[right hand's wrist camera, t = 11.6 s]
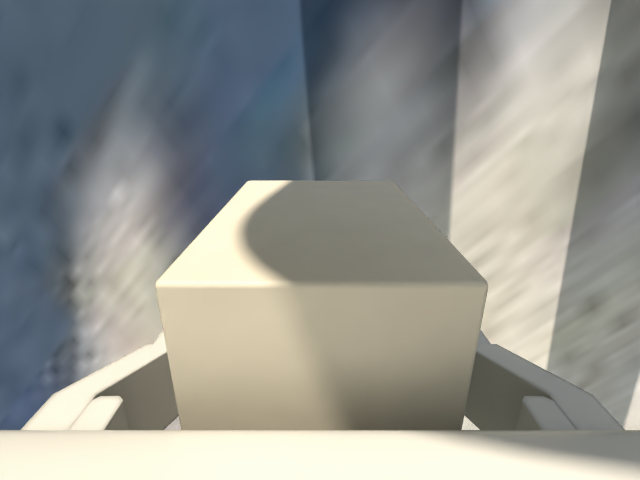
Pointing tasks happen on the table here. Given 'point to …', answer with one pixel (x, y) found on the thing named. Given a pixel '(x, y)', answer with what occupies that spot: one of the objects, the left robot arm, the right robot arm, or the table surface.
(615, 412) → the table surface
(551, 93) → the table surface
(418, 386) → the brick
